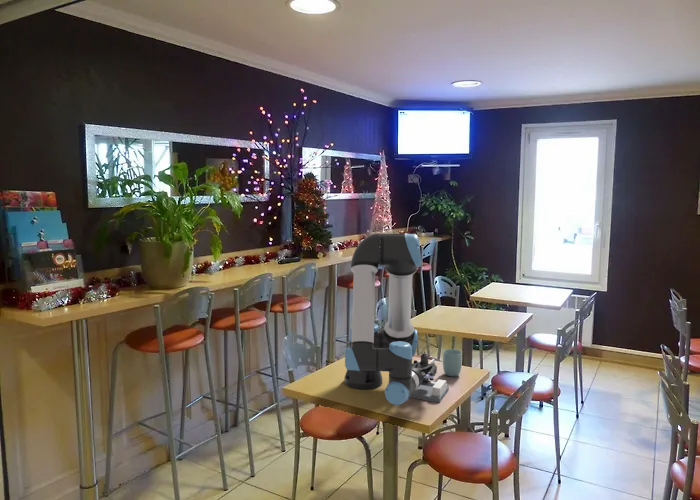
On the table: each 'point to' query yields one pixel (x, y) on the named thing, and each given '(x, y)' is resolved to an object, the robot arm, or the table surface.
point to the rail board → (431, 391)
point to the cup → (452, 362)
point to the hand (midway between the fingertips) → (428, 361)
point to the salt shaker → (423, 364)
